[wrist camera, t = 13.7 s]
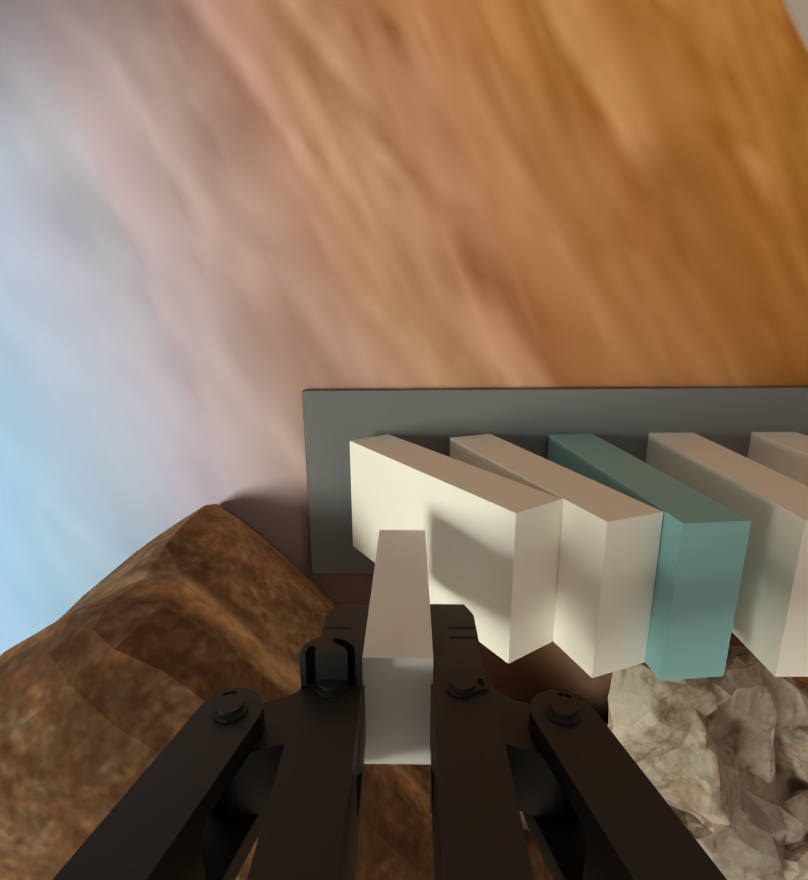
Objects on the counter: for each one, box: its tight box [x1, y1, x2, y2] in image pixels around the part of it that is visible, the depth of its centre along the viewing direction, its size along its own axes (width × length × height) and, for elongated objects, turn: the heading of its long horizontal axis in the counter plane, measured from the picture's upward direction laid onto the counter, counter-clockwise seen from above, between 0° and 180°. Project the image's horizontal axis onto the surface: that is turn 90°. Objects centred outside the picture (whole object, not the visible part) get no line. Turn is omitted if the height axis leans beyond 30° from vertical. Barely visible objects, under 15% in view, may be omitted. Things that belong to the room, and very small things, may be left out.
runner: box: [302, 386, 808, 574], centre depth 25 cm, size 24×9×1 cm, turn 90°
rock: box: [520, 645, 808, 880], centre depth 26 cm, size 24×9×15 cm
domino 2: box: [450, 434, 663, 678], centre depth 20 cm, size 2×5×10 cm, turn 0°
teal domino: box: [547, 433, 751, 681], centre depth 20 cm, size 2×5×10 cm, turn 0°
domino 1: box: [350, 434, 563, 664], centre depth 21 cm, size 2×5×10 cm
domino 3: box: [646, 432, 808, 677], centre depth 20 cm, size 2×5×10 cm, turn 1°
